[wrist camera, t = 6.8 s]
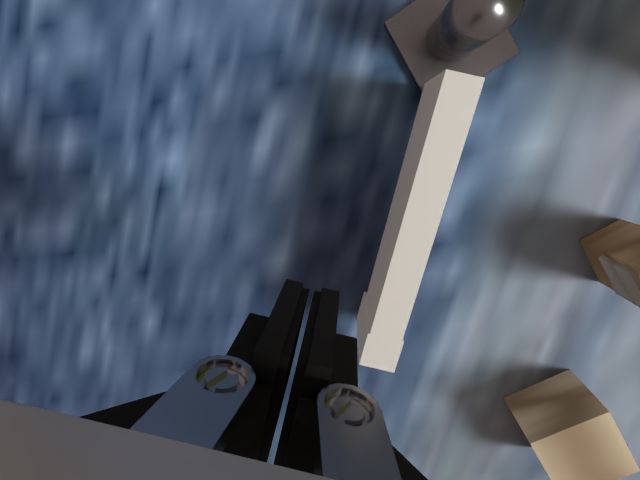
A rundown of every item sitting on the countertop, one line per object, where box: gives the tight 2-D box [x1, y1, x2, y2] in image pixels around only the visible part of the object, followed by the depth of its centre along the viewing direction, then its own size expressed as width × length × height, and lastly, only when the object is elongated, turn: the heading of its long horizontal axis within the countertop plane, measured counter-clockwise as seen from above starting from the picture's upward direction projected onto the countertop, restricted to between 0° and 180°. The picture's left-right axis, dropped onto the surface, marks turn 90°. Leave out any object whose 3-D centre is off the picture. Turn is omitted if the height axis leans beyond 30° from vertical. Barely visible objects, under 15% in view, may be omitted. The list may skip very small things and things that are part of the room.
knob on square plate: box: [384, 0, 525, 94], centre depth 17 cm, size 5×5×6 cm
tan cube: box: [503, 369, 640, 480], centre depth 23 cm, size 4×4×4 cm
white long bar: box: [357, 69, 485, 373], centre depth 20 cm, size 14×2×5 cm, turn 168°
